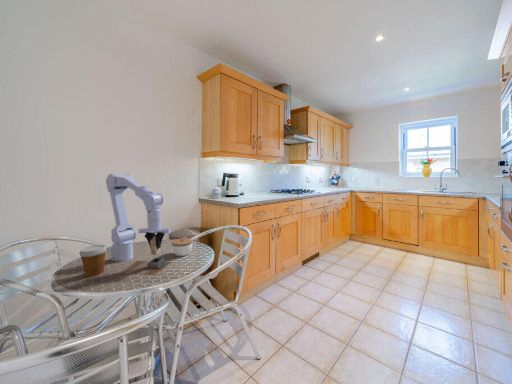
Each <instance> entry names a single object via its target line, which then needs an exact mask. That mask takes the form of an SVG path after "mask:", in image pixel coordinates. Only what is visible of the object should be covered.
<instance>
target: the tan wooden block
mask: <svg viewBox="0 0 512 384" xmlns="http://www.w3.org/2000/svg"><path fill="white" fill-rule="evenodd" d="M150 241H151V248H150V254H151V255H158V254H159V253H160V252H161V251H162V250H161V247H160V248H159V249H157V247H156V239H155V238H153V239H151V240H150Z"/></svg>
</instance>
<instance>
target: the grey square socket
mask: <svg viewBox="0 0 512 384" xmlns="http://www.w3.org/2000/svg"><path fill="white" fill-rule="evenodd" d="M148 261H149V262H148V263H147V266H146V267H145V269H160V268H162V267H163V266H164V265H165V264H166V263H167V262H168V261H165V257H154V258H153V259H151V260H148Z"/></svg>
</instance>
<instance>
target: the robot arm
mask: <svg viewBox="0 0 512 384" xmlns="http://www.w3.org/2000/svg"><path fill="white" fill-rule="evenodd" d="M105 184H106V188H107V192H108V193H109V195H110V199H111V206H112V210H113V216H114V221H115V226H114V227H112V229H111V235H110V236H111V237H110V238H111V241H112V245H111V246H110V261H118V262H124V261H125V262H126V261H129V260H132V259H134V242H135V239H136V237H137V232H136V230H135V228H134V225H133V224H131V223H129V221H128V215H127V211H126V205H125V201H124V196H123V194H124V192H125V191H126V190H128V189H130V190H131V191H133V192H134V194H135V196H137V198H139V199H140V200H141V201H142V202H143V204H144V206H145V210H146V217H147V227H142V228H138V234H144V238H145V239H146V241H147V242H148V245H149V247H150V248H149V249H151V241H150V240H151V239H153V238H155V239H156V247H157V249H159V248H161V246H162V242H163V239H164V237H165V235H166V234H168V235H169V234H171V232H172V231H171V228H167V227H162V212H161V209H162V207H161V205H163V202H164V198H163V195H162V194H161V193H159V192H154V191H153V190H151V189H150V188H148V187H147V186H146V185H140V184H139V183H138V182H136V181H135V180H134V178H133V176H132V175H131V174H129V173H125V174H115V173H113V174H112V173H110V174H108V175H107V176H106V179H105Z"/></svg>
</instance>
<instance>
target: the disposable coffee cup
mask: <svg viewBox="0 0 512 384" xmlns="http://www.w3.org/2000/svg"><path fill="white" fill-rule="evenodd" d="M107 249H108V248H107V247H106V245H104V244H98V245H97V244H96V245H90V246H86V247H84V248H81V249H80V252H79V253H78V254H79V256H80V257H81V258H80V259H81V262H82V266H83V270H84V275H85V277H89V278H90V277H97V276H99V275H101V274H103V273H104V271H105V261H106V252H107Z"/></svg>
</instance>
